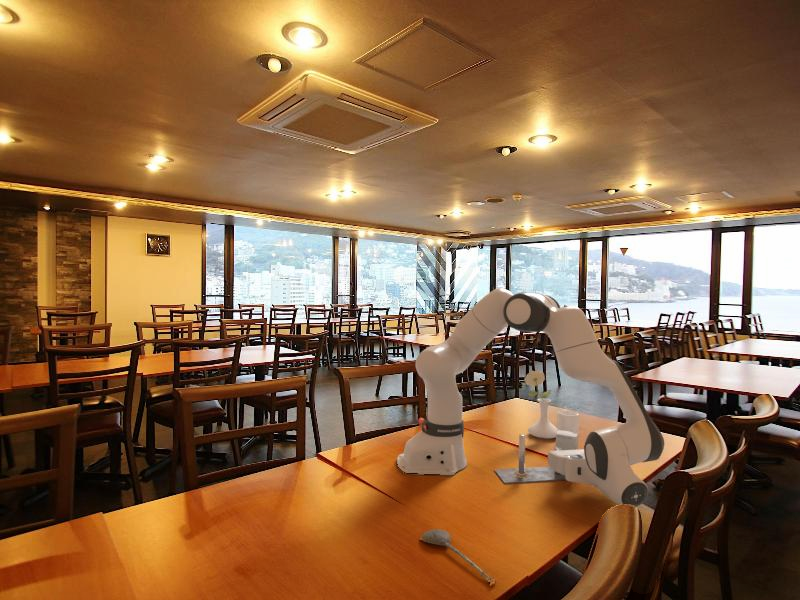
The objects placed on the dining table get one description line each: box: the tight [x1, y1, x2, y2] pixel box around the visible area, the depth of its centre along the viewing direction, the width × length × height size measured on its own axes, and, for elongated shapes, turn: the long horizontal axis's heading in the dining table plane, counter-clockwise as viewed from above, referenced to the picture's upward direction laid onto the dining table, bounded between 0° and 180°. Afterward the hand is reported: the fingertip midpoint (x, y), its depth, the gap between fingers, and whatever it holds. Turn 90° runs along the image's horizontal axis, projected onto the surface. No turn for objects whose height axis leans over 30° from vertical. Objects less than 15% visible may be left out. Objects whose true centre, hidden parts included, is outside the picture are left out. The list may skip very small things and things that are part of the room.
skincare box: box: [554, 430, 579, 473], centre depth 137 cm, size 6×4×12 cm
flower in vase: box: [524, 370, 558, 440], centre depth 169 cm, size 13×11×25 cm
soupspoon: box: [421, 528, 496, 583], centre depth 96 cm, size 22×3×7 cm
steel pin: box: [516, 433, 527, 477], centre depth 135 cm, size 3×3×12 cm
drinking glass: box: [556, 409, 580, 434], centre depth 150 cm, size 7×7×15 cm
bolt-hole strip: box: [493, 465, 567, 485], centre depth 137 cm, size 26×9×1 cm, turn 97°
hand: (571, 448), depth 134 cm, fingers open, 8 cm apart
